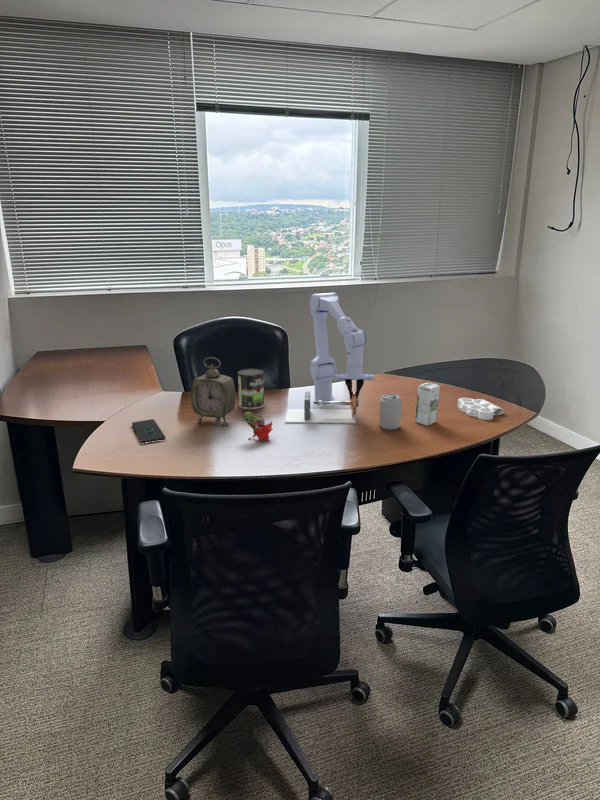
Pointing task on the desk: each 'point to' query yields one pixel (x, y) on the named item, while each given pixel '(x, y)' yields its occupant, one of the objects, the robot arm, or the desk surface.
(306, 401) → the square hole plate
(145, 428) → the black flat block
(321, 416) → the base board
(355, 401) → the bolt with copper washer
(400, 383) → the desk surface
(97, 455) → the desk surface
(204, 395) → the tabletop clock
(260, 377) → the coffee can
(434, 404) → the syrup box
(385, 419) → the can
